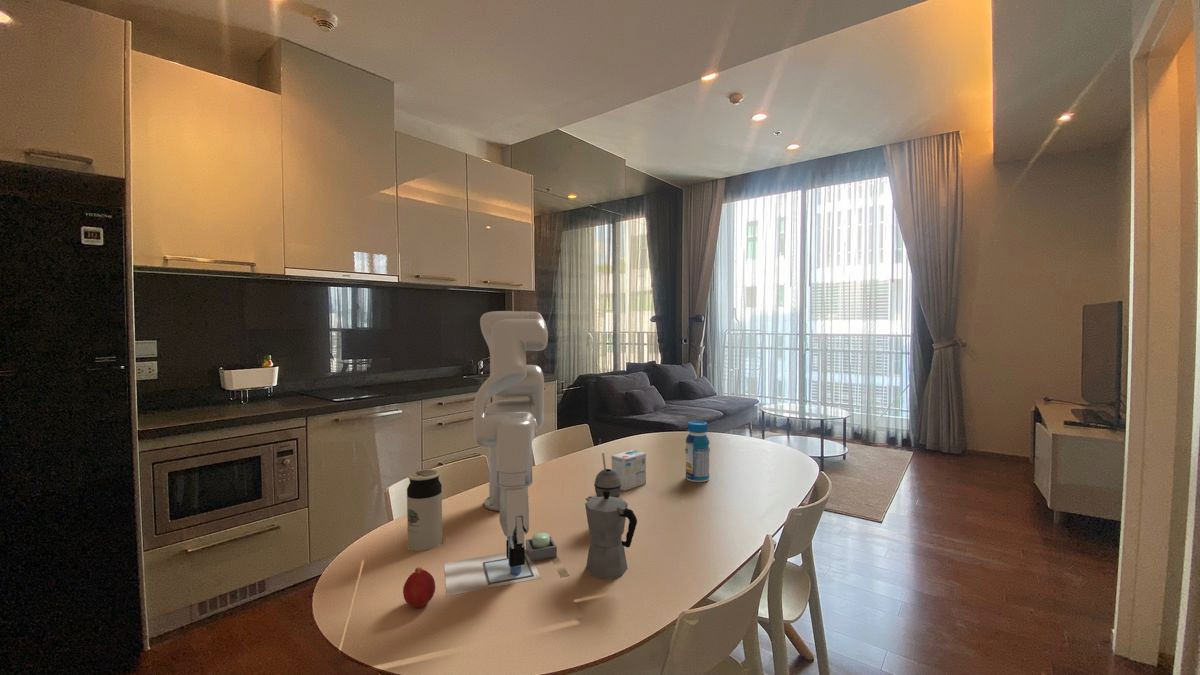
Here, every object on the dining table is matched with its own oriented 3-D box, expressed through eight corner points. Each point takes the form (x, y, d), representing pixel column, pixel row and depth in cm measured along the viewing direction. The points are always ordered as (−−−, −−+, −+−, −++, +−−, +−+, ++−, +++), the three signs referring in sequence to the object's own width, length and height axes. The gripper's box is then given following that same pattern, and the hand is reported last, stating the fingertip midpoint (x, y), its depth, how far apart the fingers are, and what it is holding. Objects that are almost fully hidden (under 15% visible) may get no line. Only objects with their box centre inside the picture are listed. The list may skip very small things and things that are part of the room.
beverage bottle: (704, 484, 161) (704, 426, 160) (681, 480, 165) (681, 423, 165) (713, 477, 168) (713, 421, 167) (690, 473, 172) (690, 419, 172)
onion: (409, 599, 94) (408, 559, 93) (438, 598, 94) (438, 558, 94) (399, 617, 88) (398, 575, 88) (430, 616, 88) (430, 573, 88)
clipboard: (439, 564, 107) (439, 561, 107) (550, 545, 116) (550, 542, 116) (441, 603, 92) (441, 598, 92) (569, 578, 101) (569, 574, 101)
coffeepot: (571, 567, 106) (570, 487, 105) (601, 553, 112) (601, 478, 112) (620, 595, 95) (620, 506, 94) (651, 578, 101) (650, 494, 101)
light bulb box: (632, 479, 167) (632, 449, 167) (646, 484, 162) (646, 452, 162) (610, 486, 160) (610, 454, 159) (625, 491, 155) (624, 458, 154)
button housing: (525, 550, 113) (525, 539, 113) (550, 546, 115) (550, 535, 115) (531, 562, 107) (531, 550, 107) (556, 557, 109) (556, 546, 109)
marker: (507, 569, 103) (506, 523, 103) (521, 566, 104) (520, 521, 104) (509, 576, 100) (509, 529, 100) (524, 573, 101) (523, 527, 101)
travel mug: (433, 535, 122) (432, 466, 122) (448, 546, 116) (447, 473, 116) (402, 546, 117) (401, 473, 116) (416, 557, 111) (415, 481, 111)
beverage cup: (619, 534, 123) (618, 457, 122) (591, 531, 124) (591, 456, 124) (623, 522, 130) (623, 450, 129) (597, 520, 131) (596, 449, 131)
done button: (530, 544, 112) (530, 534, 112) (547, 541, 113) (547, 531, 113) (534, 551, 108) (534, 541, 108) (551, 548, 110) (551, 538, 110)
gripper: (492, 467, 108) (492, 547, 108) (502, 491, 93) (503, 583, 93) (524, 464, 110) (525, 542, 111) (540, 486, 95) (541, 576, 96)
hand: (515, 560), depth 102 cm, fingers closed on marker, 3 cm apart
